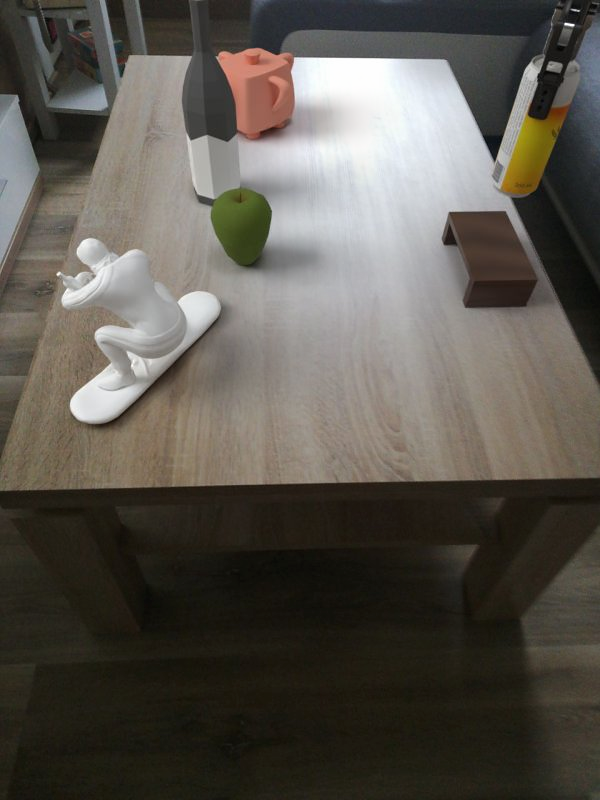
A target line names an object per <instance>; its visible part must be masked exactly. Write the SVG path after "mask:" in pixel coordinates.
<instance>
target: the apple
mask: <svg viewBox="0 0 600 800" xmlns="http://www.w3.org/2000/svg"><path fill="white" fill-rule="evenodd" d="M272 217H273V210H272V207H271V206H270V203H269V201H268V200H267V198H266V196H265V195H263V194H262V193H259V192H257V191H256V190H253V189H251V188H245V187H241V188H237V189H231V190H228V191H226V192H224V193H222V194H221V195H220V196H218V198H217V199H216V200H215V201H214V204H213V206H211V210H210V217H209V218H210V221H211V224H212V227H213V230H214V233H215V236H216V238H217V240H218V241H219V243H220V245H221V247H222V248H223V251H224V253H225V254H226V256H227V257H228V258H230V259H231V260H232V261H233V262H234V263H236V264H237V265H240V266H250V265H252V264H253V263H254V262H255V261H256V260H257V259H258V258H259V257H260V256H261V255H262V253H263V251H264V249H265V246H266V242H267V240H268V238H269V235H270V229H271V224H272V219H273V218H272Z"/></svg>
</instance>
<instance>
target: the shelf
mask: <svg viewBox="0 0 600 800" xmlns="http://www.w3.org/2000/svg"><path fill="white" fill-rule="evenodd" d="M520 240H521V239H520V238H519V236H518V233H517V232H516V230H515V228H514V225H513V223H512V221H511V219H510V217H509V215H508V212H507V211H506V210H477V211H475V210H474V211H471V210H470V211H468V210H467V211H464V210H463V211H448V213H447V218H446V221H445V225H444V228H443V231H442V236H441V241H442V245H445V246H446V245H451V246H452V245H456V246H457V247H458V250H459V253H460V255H461V258H462V261H463V264H464V266H465V269H466V272H467V275H468V277H469V281H468V284H467V286H466V288H465V292H464V295H463V298H462V302H463V305H464V308H505V307H507V308H508V307H509V308H510V307H527V305H528V303H529V301H530V298H531V297H532V294H533V293H534V290H535V288H536V286H537V284H538V281H539V278H538V276H537V273H536V271H535V269H534V267H533V265H532V263H531V261H530V259H529V257H528V255H527V253H526V250H525V248H524V246H523V244H522V241H520Z"/></svg>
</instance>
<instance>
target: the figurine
mask: <svg viewBox="0 0 600 800" xmlns="http://www.w3.org/2000/svg"><path fill="white" fill-rule="evenodd" d="M76 256H77V258H78V259H79V260H80V261H81V262H82V264H83V265H86V266H87V267H89V269H90V271H81V272H79V273H78V274H77V275H76V276H75V277H73V276H72V275H65V274H64V273H62V272H61V271H57V272H56V276H57V277H58V278H59V279H61V280H62V285H63V286H64V287H66V290H65V291H64V293H63V294H62V296H61V305H62V308H64V309H65V310H67V311H75V310H85V309H88V308H92V307H96V306H98V307H100V308H102V309H105V310H107V311H109V312H110V313H112V314H114V315H116V316H118V317H119V318H121V319H122V320H124V321H126V322H127V323H128V325H130V326H131V327H122V326H118V325H112V324H107V325H103V326H101V327H99V328H98V329H96V331H95V333H94V340H95V343H96V344H97V346H98V348H99V349H100V350H101V352H102V353H103V354H104V355H105V357H107V359H108V360H109V362H110V363H109V364H108V365H107V366H106V367H105V368H104V369H103V370H102V371H101V372H100V373H98V374H97V375H95V376H94V377H93V378H92V379H91V380H90V381H88V382H87V383H86V384H85V385H83V386H82V387H81V388H80V389H78V390H77V391H76V392H75V393H74V394H73V395H72V397H71V399H70V402H69V409H70V412H71V413H72V415H73V417H75V418H76V420H77V421H79V422H81V423H85V424H89V425H101V424H106V423H109V422H111V421H113V420H115V419H117V418H118V417H119V416H120V415H122V414H123V413H124V412H125V411H126V410H127V409H128V408H129V407H130V406H131V405H132V404H134V403H135V402H136V401H137V400H138V399H139V398H140V397H141V396H142V395H143V394H144V393H145V392H146V391H147V390H148V389H149V388H150V387H151V386H152V385H153V384H154V383H155V381H157V380H158V378H160V377H161V376H162V375H163V374H164V373H165V372H166V371H167V370H168V369H169V368H170V367H171V366H172V365H173V364H174V363H175V362H176V361H177V360H178V359H179V358H180V357H181V356H182V355H183V354H184V353H185V352H186V351H187V350H188V349H189V348H190V347H191V346H192V345H193V344H195V342H196V341H197V340H198V339H199V338H200V337H202V335H203V334H204V333H205V332H206V331H207V330H208V329H209V328H210V327H211V326H212V325H213V323H214V322H215V321H216V320H217V319H218V317H220V314H221V310H222V308H221V307H222V306H221V302H220V300H219V299H218V297H217V296H215V294H213V293H211V292H208V291H204V290H197V291H191V292H188V293H187V294H185V295H183V296H181V297H180V299H179V300H178V301H177V300H176V298H175V297H174V296H173V294H172V293H171V292H170V290H169V289H168V288H167V287H166V285H165V284H164V283H163V282H160V281H154V272H153V267H152V259H151V257H150V256H149V254H147V253H146V252H145V251H143V250H141V249H137V248H133V249H130V250H128V251H126V252H125V253H124V254H122V255H121V256H119V255H118V254H117V253H115V252H113V251H109V250H108V248H107V246H106V245H105V243H103V241H101V240H99V239H96V238H94V237H93V238H92V237H91V238H90V237H89V238H86V239H83V240H82V241H81V242H80V243H79V246H78V247H77V248H76ZM93 276H95V277H93Z"/></svg>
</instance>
